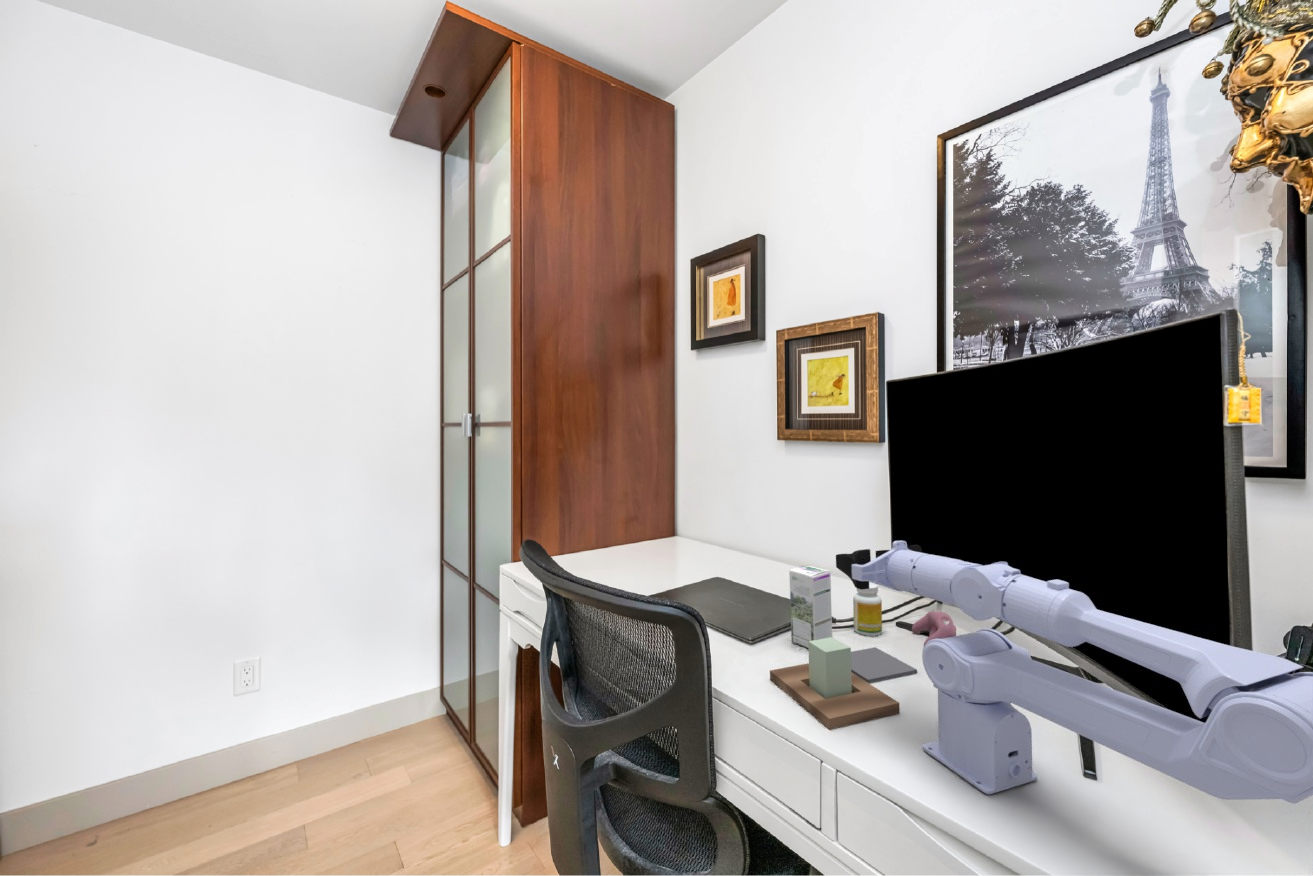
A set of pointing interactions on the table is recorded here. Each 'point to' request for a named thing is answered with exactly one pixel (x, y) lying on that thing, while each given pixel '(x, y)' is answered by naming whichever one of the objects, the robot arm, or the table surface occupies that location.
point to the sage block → (829, 667)
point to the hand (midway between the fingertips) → (857, 559)
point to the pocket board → (835, 698)
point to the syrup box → (810, 604)
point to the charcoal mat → (878, 665)
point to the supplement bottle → (868, 611)
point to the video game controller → (935, 625)
